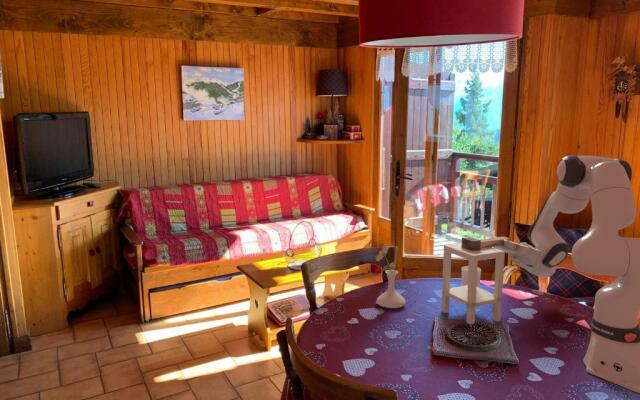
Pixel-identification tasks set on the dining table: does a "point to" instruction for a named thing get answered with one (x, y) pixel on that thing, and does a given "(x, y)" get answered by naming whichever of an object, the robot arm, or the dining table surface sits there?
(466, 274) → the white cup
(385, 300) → the flower in vase
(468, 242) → the mallet
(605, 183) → the robot arm
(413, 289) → the dining table surface
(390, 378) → the dining table surface
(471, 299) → the shelf stand
